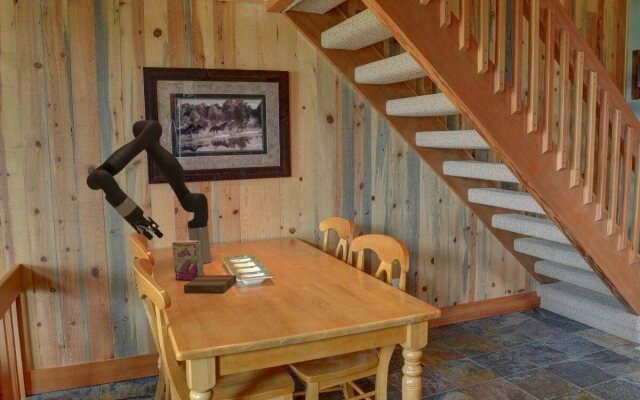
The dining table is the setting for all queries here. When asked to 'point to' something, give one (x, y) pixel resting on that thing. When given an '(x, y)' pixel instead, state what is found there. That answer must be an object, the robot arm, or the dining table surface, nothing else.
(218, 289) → the walnut base
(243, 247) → the dining table surface
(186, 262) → the candy bar box
